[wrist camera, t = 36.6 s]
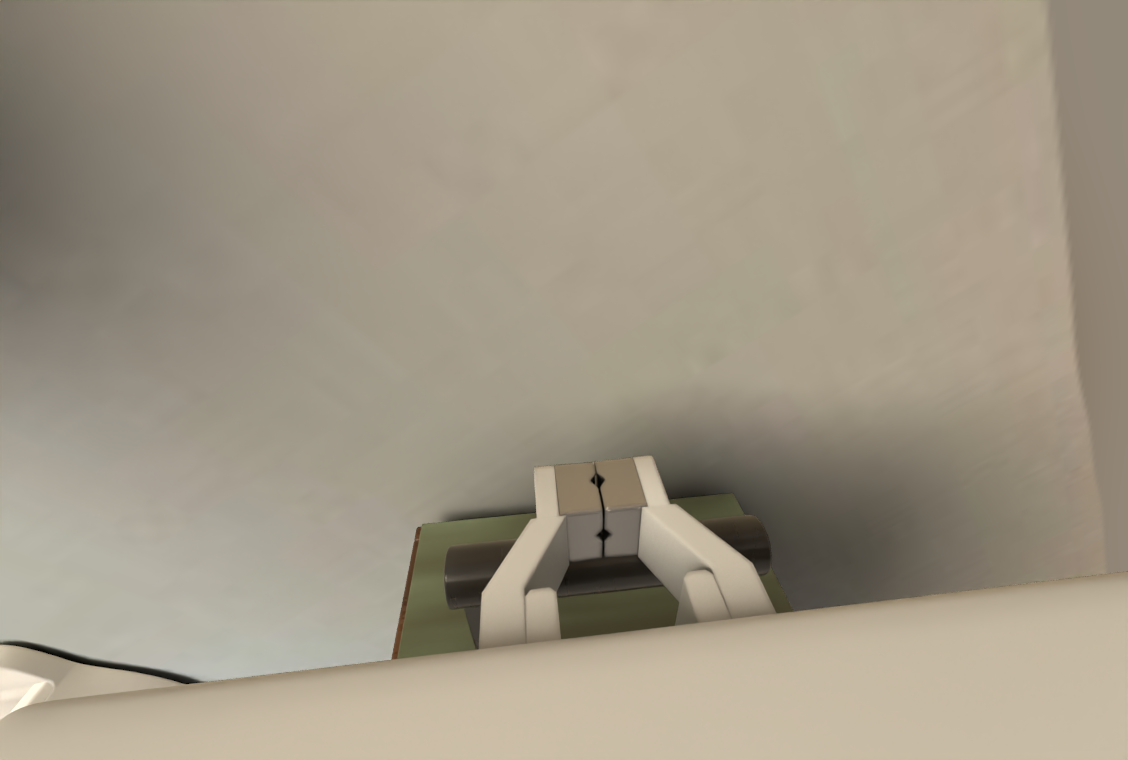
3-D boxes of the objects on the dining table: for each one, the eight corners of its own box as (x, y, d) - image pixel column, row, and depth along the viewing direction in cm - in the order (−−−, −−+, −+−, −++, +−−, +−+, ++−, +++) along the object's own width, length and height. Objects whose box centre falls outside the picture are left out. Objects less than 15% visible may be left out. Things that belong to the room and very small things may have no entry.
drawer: (386, 415, 16) (322, 603, 10) (761, 383, 17) (884, 542, 11) (474, 688, 28) (466, 841, 23) (689, 661, 29) (732, 804, 23)
